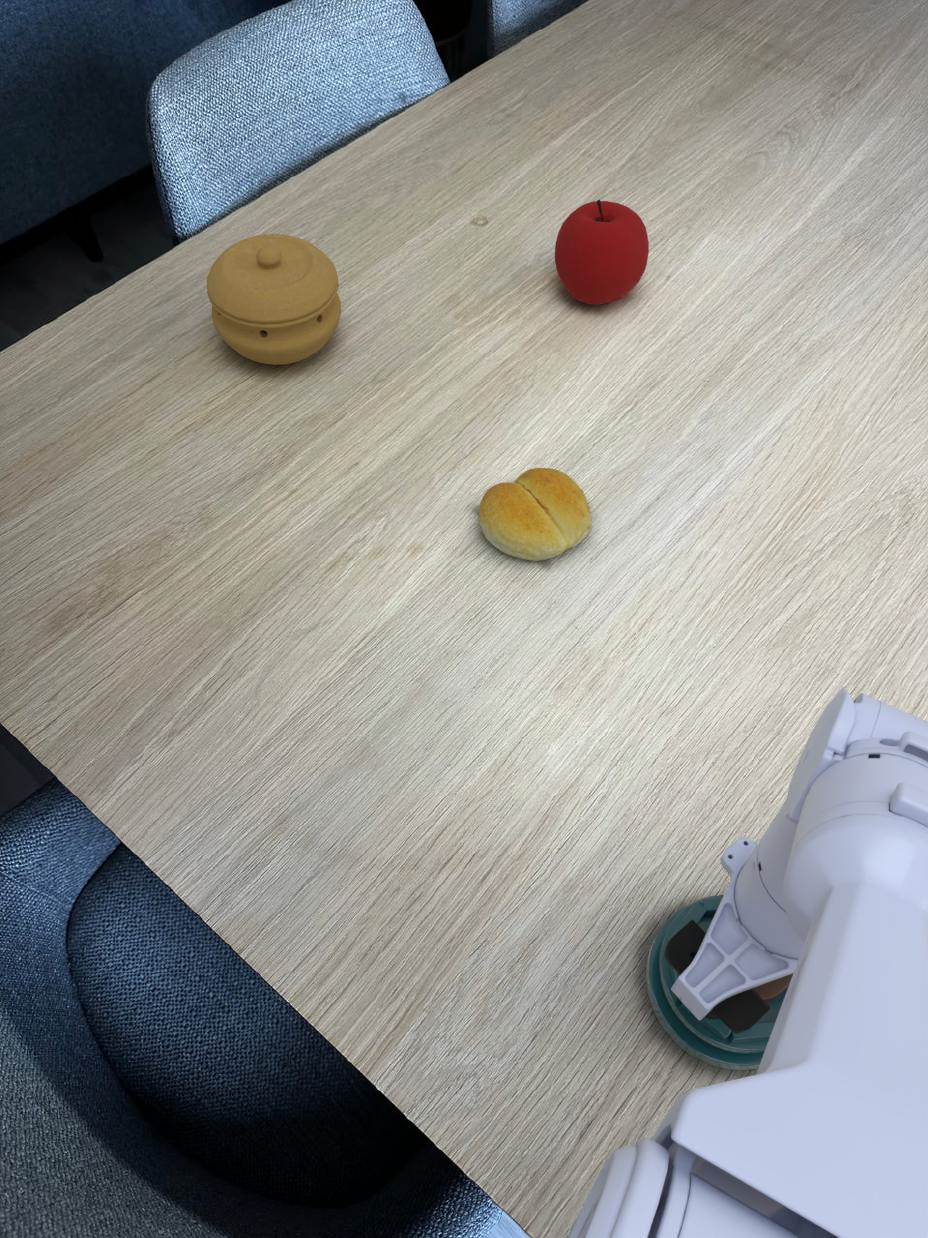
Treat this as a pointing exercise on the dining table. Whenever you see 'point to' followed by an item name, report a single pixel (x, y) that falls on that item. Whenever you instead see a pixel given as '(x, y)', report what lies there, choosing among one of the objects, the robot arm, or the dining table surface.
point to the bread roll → (535, 515)
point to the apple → (601, 252)
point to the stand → (705, 1035)
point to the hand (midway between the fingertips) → (746, 959)
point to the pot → (274, 298)
